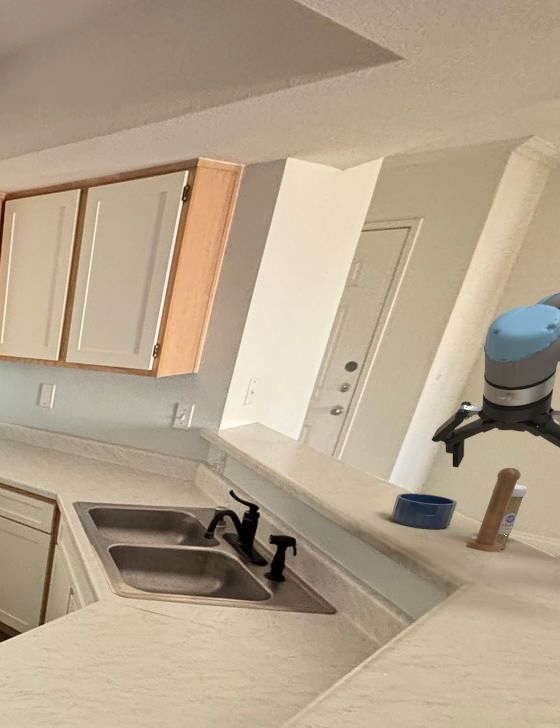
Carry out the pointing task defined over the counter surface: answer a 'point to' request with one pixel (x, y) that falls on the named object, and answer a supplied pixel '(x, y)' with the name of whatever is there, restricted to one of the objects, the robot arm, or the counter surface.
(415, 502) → the bowl
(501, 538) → the sprinkles bottle
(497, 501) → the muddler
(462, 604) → the counter surface
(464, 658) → the counter surface
